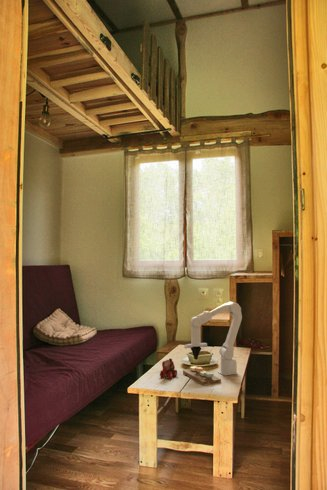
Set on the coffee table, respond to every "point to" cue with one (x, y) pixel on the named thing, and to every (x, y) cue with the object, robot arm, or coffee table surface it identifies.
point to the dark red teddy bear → (168, 369)
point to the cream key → (192, 368)
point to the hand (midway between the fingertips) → (195, 359)
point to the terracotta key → (198, 369)
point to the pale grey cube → (208, 375)
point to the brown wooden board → (201, 378)
